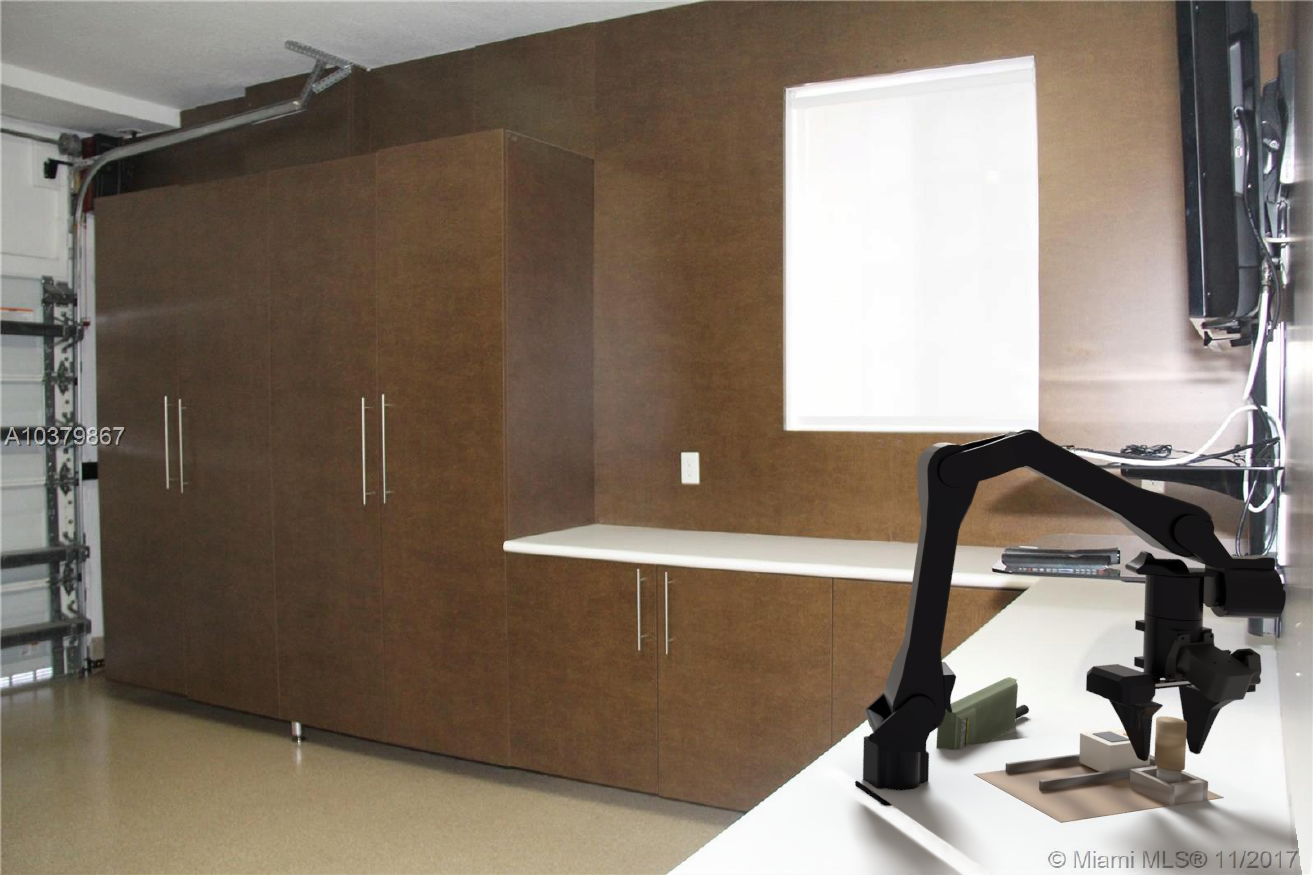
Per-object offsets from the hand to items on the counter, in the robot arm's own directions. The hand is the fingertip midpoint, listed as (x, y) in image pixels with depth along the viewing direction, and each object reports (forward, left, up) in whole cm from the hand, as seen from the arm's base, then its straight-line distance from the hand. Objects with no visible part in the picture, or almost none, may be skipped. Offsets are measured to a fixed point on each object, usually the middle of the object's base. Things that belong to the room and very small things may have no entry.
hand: (1168, 756), depth 109 cm
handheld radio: (-4, +26, -6) cm, 27 cm away
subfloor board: (-6, +4, -6) cm, 9 cm away
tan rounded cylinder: (0, 0, -4) cm, 4 cm away
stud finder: (0, +8, -4) cm, 9 cm away
